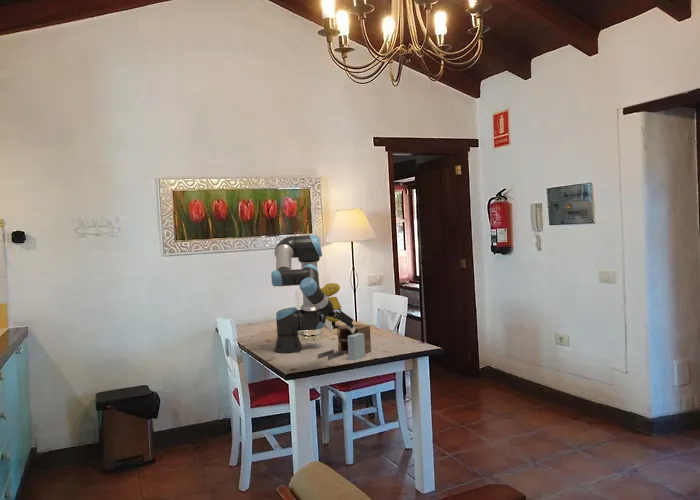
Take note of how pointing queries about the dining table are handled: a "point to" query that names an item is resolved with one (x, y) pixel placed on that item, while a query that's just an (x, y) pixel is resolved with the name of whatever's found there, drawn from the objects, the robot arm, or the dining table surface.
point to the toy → (332, 299)
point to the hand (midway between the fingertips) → (342, 330)
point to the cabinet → (343, 340)
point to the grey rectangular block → (356, 346)
